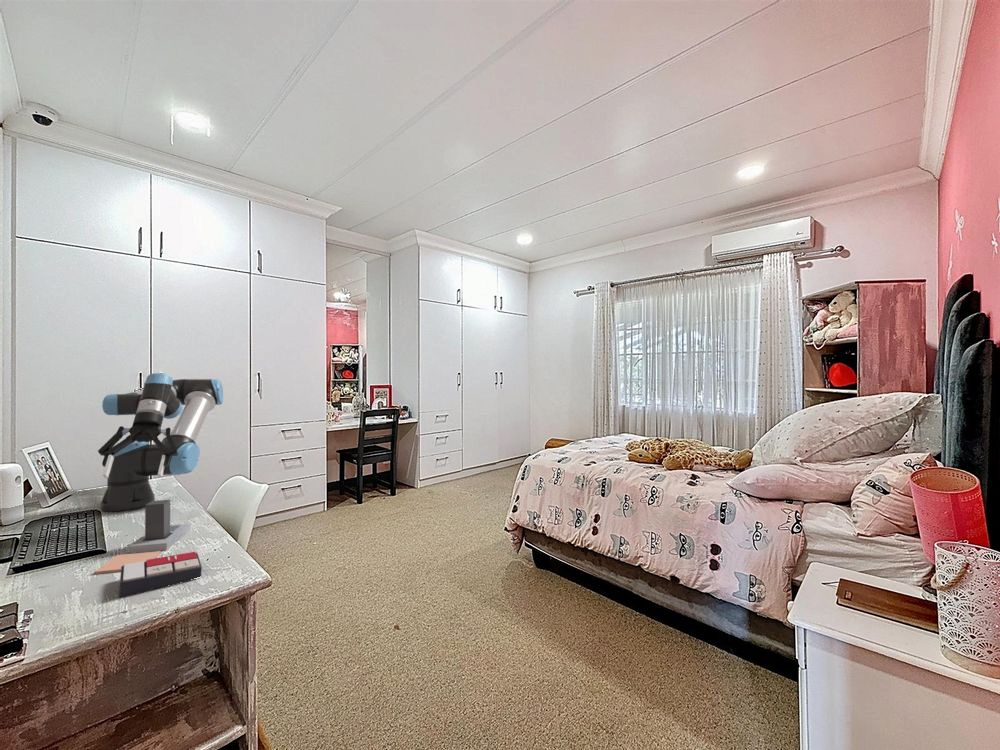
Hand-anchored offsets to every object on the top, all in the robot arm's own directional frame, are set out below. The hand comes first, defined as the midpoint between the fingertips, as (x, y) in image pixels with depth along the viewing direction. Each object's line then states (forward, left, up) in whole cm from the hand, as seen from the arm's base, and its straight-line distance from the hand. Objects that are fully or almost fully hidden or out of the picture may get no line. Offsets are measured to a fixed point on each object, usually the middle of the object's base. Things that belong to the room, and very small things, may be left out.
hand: (133, 476), depth 137 cm
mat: (+29, +12, -17) cm, 35 cm away
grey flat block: (+14, +13, -17) cm, 25 cm away
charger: (+16, +13, -17) cm, 26 cm away
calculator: (+40, +24, -17) cm, 50 cm away
